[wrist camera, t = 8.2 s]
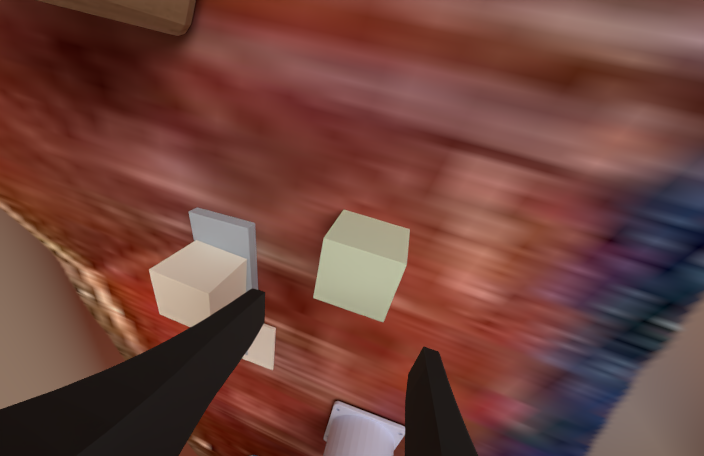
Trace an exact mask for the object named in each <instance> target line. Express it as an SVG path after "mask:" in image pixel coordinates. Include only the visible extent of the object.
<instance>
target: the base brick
mask: <svg viewBox="0 0 704 456" xmlns="http://www.w3.org/2000/svg"><path fill="white" fill-rule="evenodd" d="M189 217H190V222H191V227H192V232H193V238H194V241H196V240H198V241H201V242H203V243H206V244H209V245H211V246H214V247H217V248H219V249H222V250H224V251H227V252H230V253H232V254H235V255H238V256H240V257H243V258H246V259H247V277H246V292H247V291H248V290H250V289H252V288H254V289H257V290H258V275H257V254H256V233H255V223H253V222H249V221H245V220H242V219H238V218H234V217H231V216H227V215H223V214H219V213H216V212H212V211H208V210H205V209H201V208H195V209H193V210H191V211H189Z"/></svg>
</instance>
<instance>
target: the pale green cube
mask: <svg viewBox="0 0 704 456" xmlns="http://www.w3.org/2000/svg"><path fill="white" fill-rule="evenodd" d="M409 233H410V229H407V228H404V227H400V226H397V225H393V224H390V223H387V222H383V221H380V220H377V219H373V218H370V217H367V216H363V215H360V214H357V213H353V212H350V211H347V210H343V211H342V213H341V214H340V215H339V217H338V218H337V220H336V221H335V223H334V224H333V225H332V227H331V228H330V230H329V231H328V233H327V234H326V235H325V237H324V239H323V245H322V251H321V256H320V262H319V268H318V273H317V279H316V285H315V291H314V296H313V298H315V299H318V300H321V301H323V302H326V303H329V304H332V305H335V306H338V307H341V308H344V309H346V310H349V311H352V312H355V313H358V314H361V315H364V316H367V317H369V318H372V319H375V320H378V321H381V322H384V320H385V317H386V315H387V312H388V310H389V307H390V305H391V302H392V300H393V297H394V295H395V292H396V290H397V287H398V285H399V282H400V280H401V277H402V275H403V273H404V270H405V268H406V265H407V256H408V245H409Z"/></svg>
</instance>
